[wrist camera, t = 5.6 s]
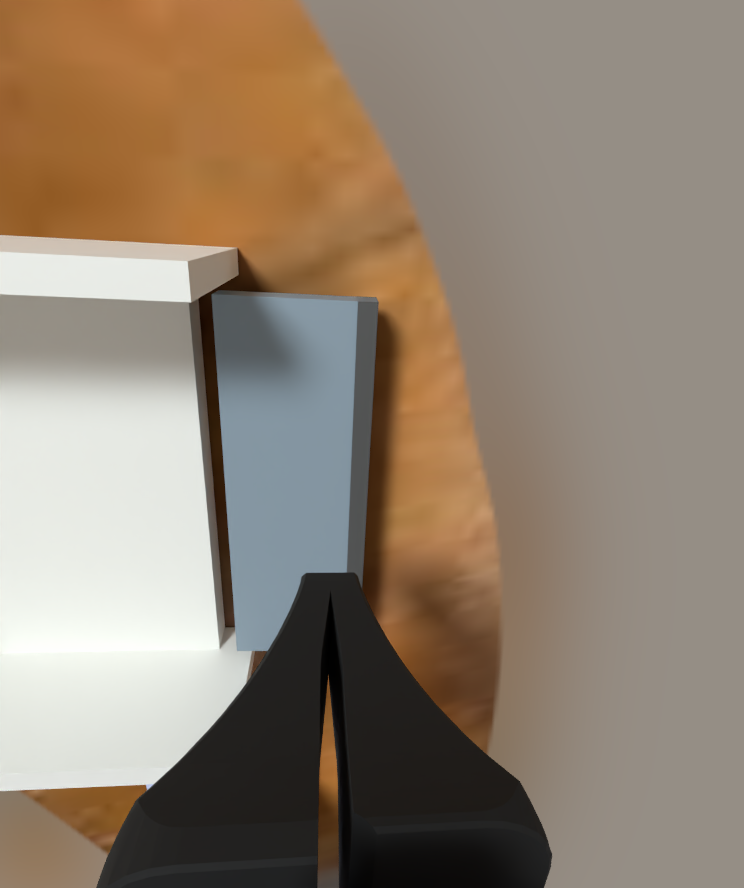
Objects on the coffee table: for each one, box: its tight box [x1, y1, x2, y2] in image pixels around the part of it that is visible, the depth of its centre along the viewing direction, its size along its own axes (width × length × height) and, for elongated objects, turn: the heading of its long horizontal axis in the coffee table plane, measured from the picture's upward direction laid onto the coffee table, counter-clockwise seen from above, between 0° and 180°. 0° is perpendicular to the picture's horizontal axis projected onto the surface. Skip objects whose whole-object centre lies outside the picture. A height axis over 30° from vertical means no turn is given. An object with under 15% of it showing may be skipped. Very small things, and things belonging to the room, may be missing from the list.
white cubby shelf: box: [0, 235, 255, 791], centre depth 15 cm, size 16×13×6 cm
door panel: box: [211, 290, 378, 651], centre depth 18 cm, size 14×1×5 cm
